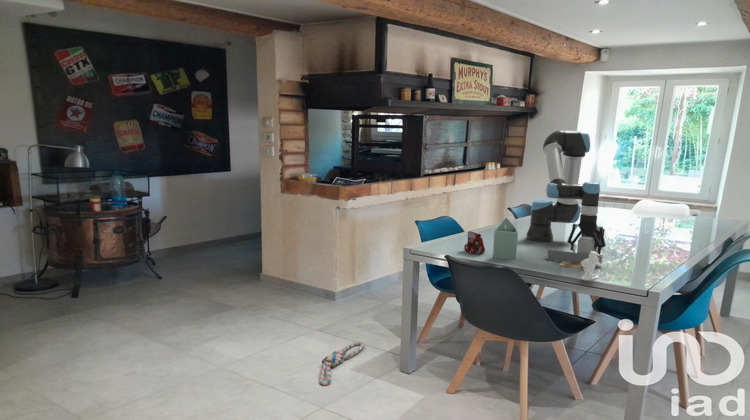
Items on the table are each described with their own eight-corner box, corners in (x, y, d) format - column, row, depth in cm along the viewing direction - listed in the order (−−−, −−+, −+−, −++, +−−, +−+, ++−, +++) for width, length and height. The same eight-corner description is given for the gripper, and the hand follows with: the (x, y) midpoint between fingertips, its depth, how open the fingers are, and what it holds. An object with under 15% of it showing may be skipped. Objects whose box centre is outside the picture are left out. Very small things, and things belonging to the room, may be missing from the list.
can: (573, 259, 244) (575, 235, 242) (587, 259, 244) (590, 235, 243) (581, 263, 236) (583, 239, 235) (595, 263, 237) (598, 239, 235)
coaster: (559, 266, 230) (559, 264, 230) (563, 262, 238) (563, 260, 238) (579, 269, 226) (579, 267, 226) (582, 264, 233) (583, 263, 233)
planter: (505, 261, 237) (507, 221, 234) (492, 257, 243) (494, 218, 240) (526, 256, 247) (528, 218, 244) (513, 253, 253) (515, 216, 250)
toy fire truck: (476, 255, 247) (477, 235, 245) (462, 250, 258) (463, 230, 257) (487, 254, 250) (488, 234, 248) (473, 249, 261) (474, 230, 259)
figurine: (590, 282, 206) (592, 254, 204) (577, 277, 212) (579, 250, 210) (604, 279, 210) (606, 252, 209) (591, 275, 216) (593, 249, 214)
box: (603, 247, 273) (605, 228, 271) (599, 249, 268) (601, 230, 266) (584, 244, 280) (585, 226, 278) (579, 245, 275) (581, 227, 274)
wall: (547, 259, 243) (548, 249, 242) (549, 257, 246) (549, 247, 245) (600, 267, 230) (601, 256, 229) (601, 265, 234) (602, 255, 233)
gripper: (563, 212, 239) (559, 257, 243) (613, 217, 228) (608, 264, 231) (566, 211, 246) (562, 254, 249) (615, 215, 234) (610, 260, 238)
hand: (584, 259), depth 240 cm, fingers open, 10 cm apart
